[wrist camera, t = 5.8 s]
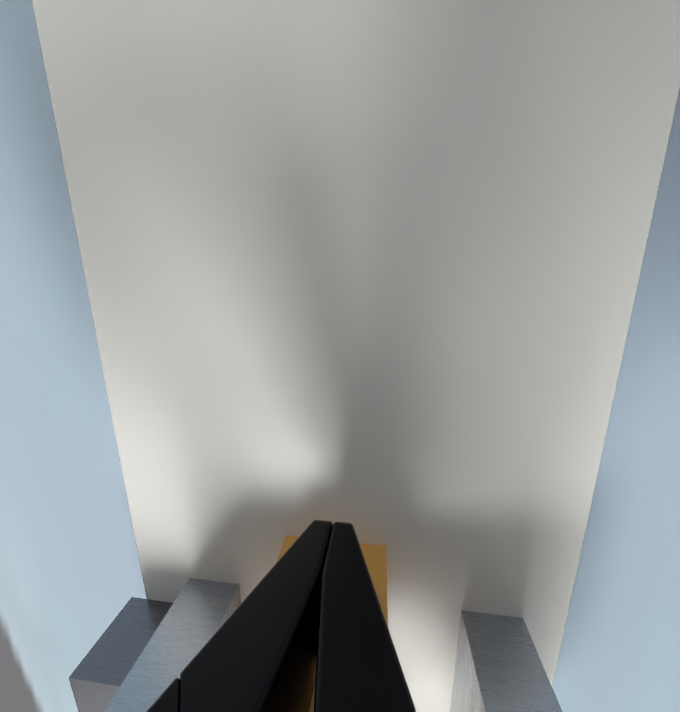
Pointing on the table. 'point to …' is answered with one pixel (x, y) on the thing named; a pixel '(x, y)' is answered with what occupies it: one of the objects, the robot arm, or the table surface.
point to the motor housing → (220, 599)
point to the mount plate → (365, 280)
